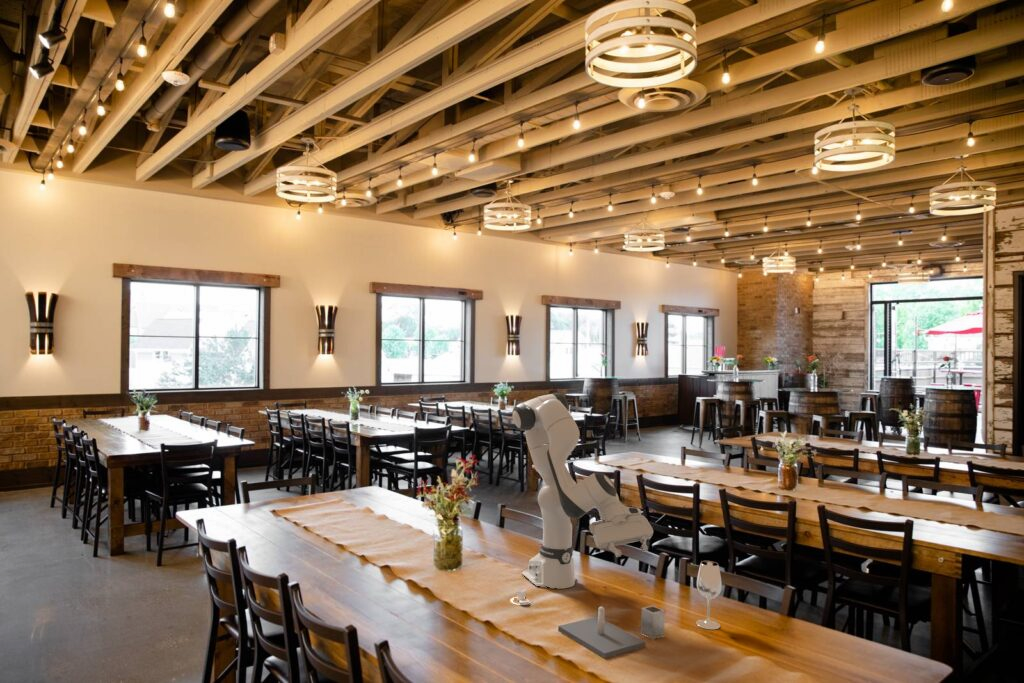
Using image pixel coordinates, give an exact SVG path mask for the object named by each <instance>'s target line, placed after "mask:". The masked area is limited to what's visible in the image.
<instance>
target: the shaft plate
mask: <svg viewBox="0 0 1024 683" xmlns="http://www.w3.org/2000/svg"><path fill="white" fill-rule="evenodd" d="M597 609H598V610H597V611H598V612H597V616H594V617H590V618H585V619H581V620H577V621H574V622H569V623H565V624H561V625H558V627H557V628H558V629H557V631H558V632H560V633H561V634H563V635H564V634H565V636H567V638H570V639H571V640H573V641H575V642H576V643H578V644H579V645H581V646H583V647H585V648H586V649H587V650H590V651H591V652H593V653H594V654H596V655H598V656H599V657H602V658H603V659H607V658H608V659H609V658H611V657H614V655H615V656H618V654H619V655H621V654H624V653H625V652H626V653H628V652H629V653H630V652H632V651H636V650H640V649H643V648H645V647H646V641H645V640H643V639H641V638H639V637H637V636H635V635H634V634H632V633H630V632H628V631H626V630H624V629H622V628H620V627H619V626H617V625H615V624H613V623H611V622H609V621H607V620H605V618H606V616H605V614H606V612H605V611H606V610H605V607H603V606H599V607H598V608H597ZM642 647H643V648H642Z"/></svg>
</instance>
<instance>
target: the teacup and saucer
mask: <svg viewBox="0 0 1024 683" xmlns="http://www.w3.org/2000/svg"><path fill="white" fill-rule="evenodd" d="M526 593H527V590H526V589H525V588H519V589H517V590H516V596H514V597H511V598H510V599H509V602H510V603H511V604H513V605H516V606H528V604H529V603H530V602H529V600H528V599H525V597H526V595H527V594H526ZM514 598H517V602H518V601H519V602H518V603H517V602H514V600H515V599H514ZM529 605H530V604H529Z"/></svg>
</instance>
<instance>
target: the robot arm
mask: <svg viewBox="0 0 1024 683" xmlns="http://www.w3.org/2000/svg"><path fill="white" fill-rule="evenodd" d="M569 410H570V409H569V404H568V401H567V399H566V397H565V396H564V394H562V393H561V392H552V393H550V394H544V395H541V396H540V395H539V396H536V397H534V398H531V399H528V400H526V401H523V402H520V403H518V404H516V405H515V406H513V409H512V410H511V411H512V412H511V415H512V420H513V421H512V422H513V423H514V425H515V427H516V428H517V429H518V430H519V431H523V432H524V434H525V439H526V444H527V448H528V450H529V453H530V454H529V455H530V456H531V457H530V458H531V460H532V463H533V467H534V469H535V471H536V472H537V473H538V474H539V476H540V477H541V478H542V480H543V482H544V485H543V486H542V487H541V489H540V490H539V492H538V495H537V504H538V505H539V507H540V511H541V512H540V513H541V519H542V543H540V544H538V545H539V546H538V548H539V551H538V552H539V553H537V554H536V555H535V556H533V557H532V558H530V559H529V561H528V566H527V569H526V570H523V571H522V572H521V575H522V574H523V575H525V576H526V577H527V578H528V579H529V580H530V581H532V582H533V583H534V584H535V585H538V586H547V587H550V588H549V589H554V588H557V589H559V590H561V589H563V590H564V589H568V588H571V587H573V586H575V584H576V581H577V575H575V562H574V558H573V556H574V555H573V552H574V546H573V545H572V544H573V524H572V522H571V518H572V519H580V518H583V516H585V514H587V513H589V511H591V510H593V509H594V508H596V510H597V511H598V515H599V517H600V520H598V521H593V522H591V523H590V524H589V527H588V528H589V531H590V533H591V534H592V537H593V540H594V543H595V546H596V547H597V548H598V549H601V550H602V549H607V548H608V550H609V551H611V552H612V553H613V554H614V555H615V557H616V558H619V557H622V554H623V553H622V551H621V549H618V548H616V546H621V545H626V544H630V543H635V542H640V543H641V546H640V549H641V551H642V552H643V553H644V552H648V549H649V547H648V545H647V540H651V538H652V536H653V535H654V529H653V527H652V524H650V522H649V521H648V519H647V518H646V517H645V515H643V514H642V510H641V509H640V508H638V507H631V506H627V505H624V504H623V503H622V502H621V501H620V498H619V495H618V493H617V488H616V486H615V485H614V482H613V481H612V480H611V478H610V477H609V476H608V475H607V474H606V473H602V472H598V471H597V472H596V471H595V472H594V473H591V474H590V475H588V476H587V477H585V478H584V479H583V480H581V481H579V482H578V483H577V482H576V481H575V480H574V479H573V477H572V476H571V474H570V471H569V470H568V468H567V466H566V464H565V463H566V461H567V459H568V458H569V456H570V455H571V453H572V452H574V450H575V448H576V447H577V445H578V442H579V440H580V429H579V426H578V424H577V423H576V421H575V419H574V417H573V416H572V414H571V413H570V411H569ZM530 581H529V582H530ZM535 585H534V586H535ZM547 587H546V588H547Z"/></svg>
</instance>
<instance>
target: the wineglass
mask: <svg viewBox="0 0 1024 683" xmlns="http://www.w3.org/2000/svg"><path fill="white" fill-rule="evenodd" d="M722 586H723V585H722V576H721V570H720V566H719V563H718V562H715V561H712V560H711V561H710V560H703V561H701V562H700V564H699V568H698V573H697V577H696V588H697V591H698V593H699V594H700V595H701V596H702V597H704V599H706V605H707V608H706V619H697V621H696V622H695V624H696V625H697V626H698V627H699V628H701V629H706V630H717V629H719V628H721V624H720V623H718V622H717V621H714V620H711V618H710V612H711V611H710V609H711V608H710V607H711V601H712V600H713V599H715V598H717V597H718V596H719V595H720V593H721V591H722Z"/></svg>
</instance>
